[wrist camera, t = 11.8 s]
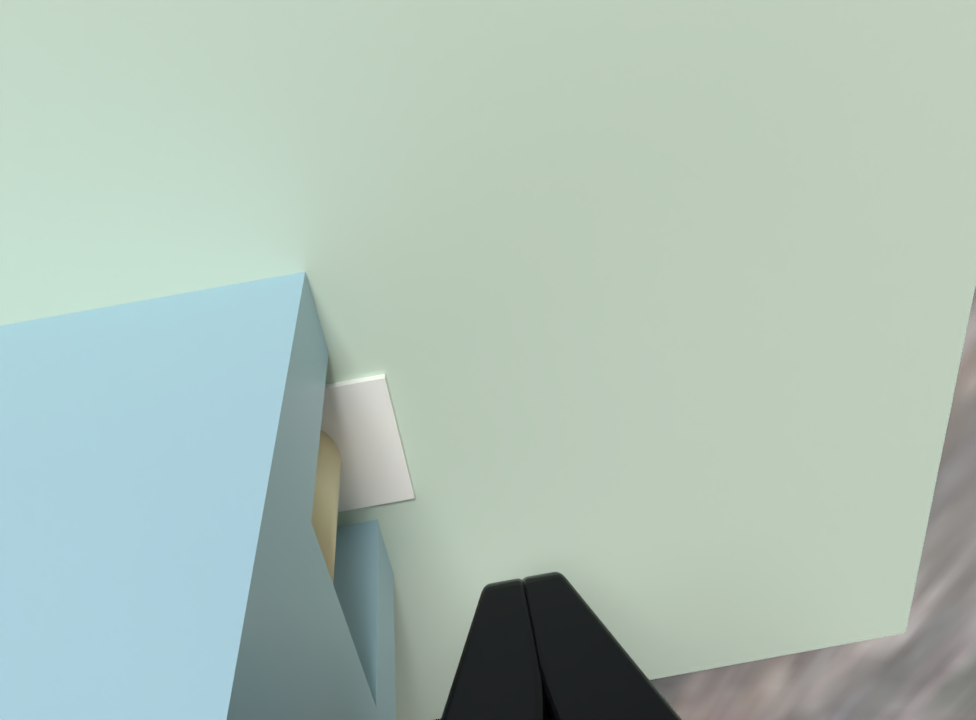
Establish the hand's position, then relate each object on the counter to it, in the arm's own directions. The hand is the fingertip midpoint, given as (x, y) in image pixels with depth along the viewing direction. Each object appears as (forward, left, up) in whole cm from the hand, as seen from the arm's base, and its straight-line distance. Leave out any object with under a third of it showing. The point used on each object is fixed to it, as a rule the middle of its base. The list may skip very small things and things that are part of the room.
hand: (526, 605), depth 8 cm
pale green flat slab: (+4, 0, -4) cm, 5 cm away
